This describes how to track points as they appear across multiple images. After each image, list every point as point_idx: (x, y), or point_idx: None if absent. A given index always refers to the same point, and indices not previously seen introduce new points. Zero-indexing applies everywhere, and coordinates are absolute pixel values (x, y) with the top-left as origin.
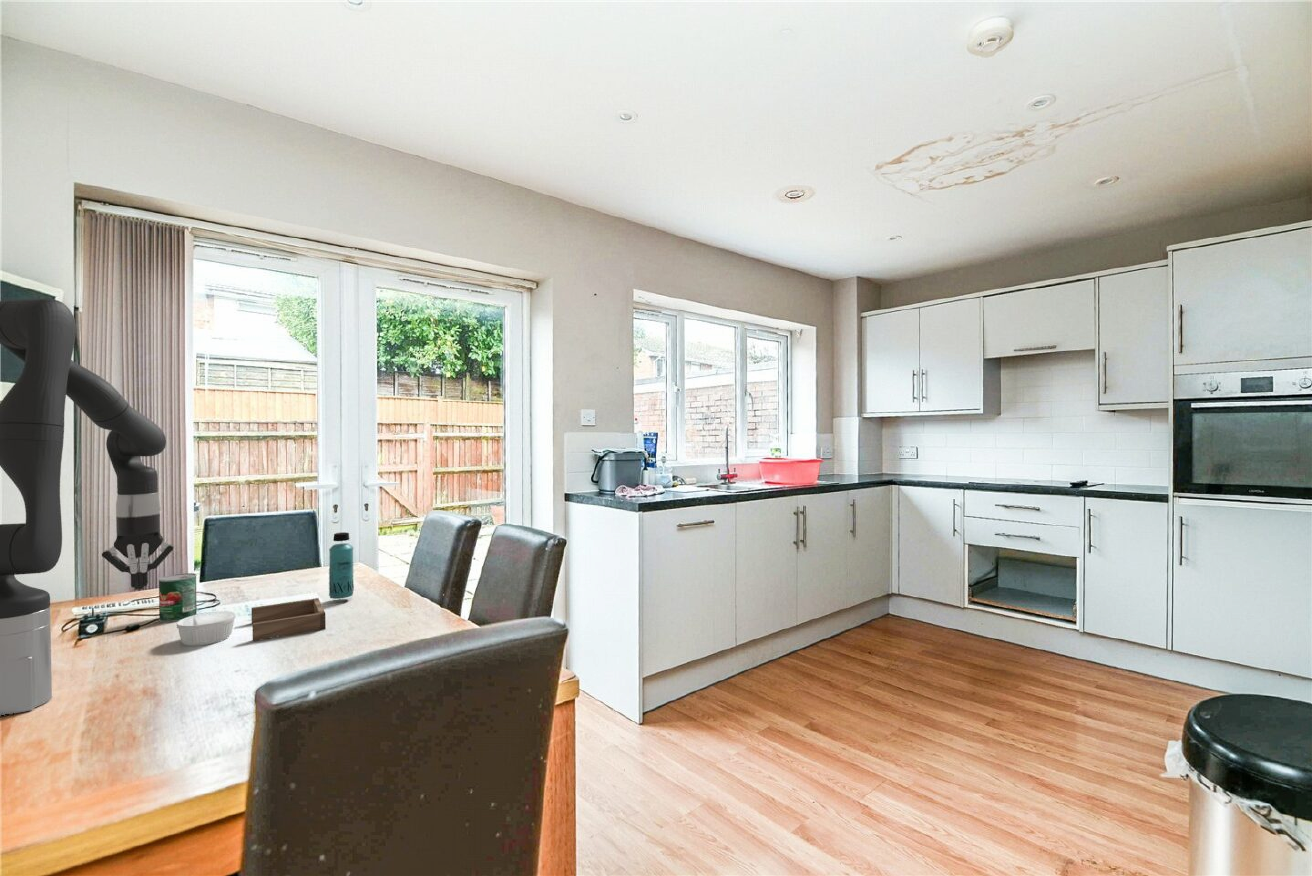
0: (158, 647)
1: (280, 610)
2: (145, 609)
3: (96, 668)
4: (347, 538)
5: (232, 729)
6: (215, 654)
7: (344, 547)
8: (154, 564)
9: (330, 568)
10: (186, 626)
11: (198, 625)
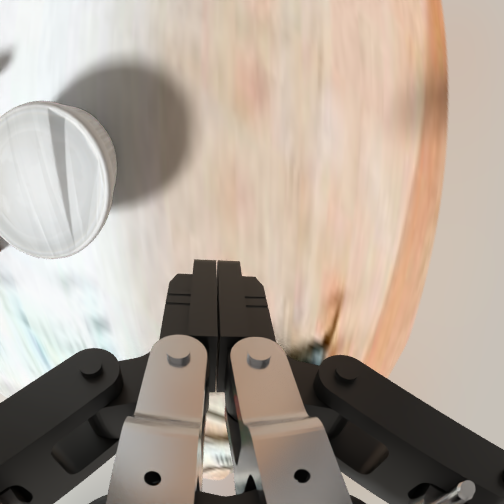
0: (173, 164)
1: None
2: (224, 437)
3: (315, 69)
4: None
5: None
6: (50, 9)
7: None
8: (81, 385)
9: None
10: (77, 118)
11: (45, 104)
